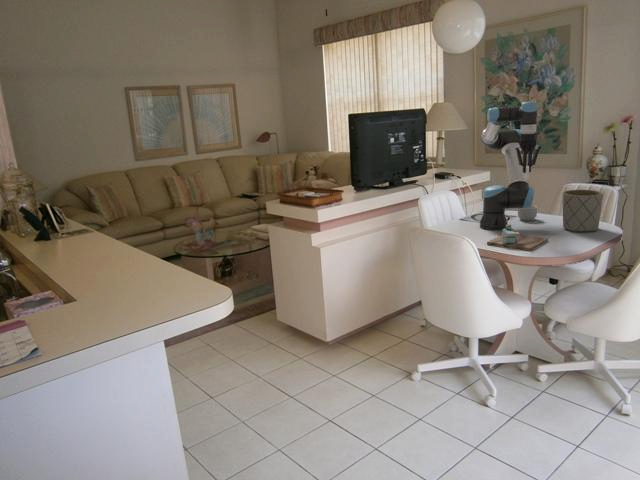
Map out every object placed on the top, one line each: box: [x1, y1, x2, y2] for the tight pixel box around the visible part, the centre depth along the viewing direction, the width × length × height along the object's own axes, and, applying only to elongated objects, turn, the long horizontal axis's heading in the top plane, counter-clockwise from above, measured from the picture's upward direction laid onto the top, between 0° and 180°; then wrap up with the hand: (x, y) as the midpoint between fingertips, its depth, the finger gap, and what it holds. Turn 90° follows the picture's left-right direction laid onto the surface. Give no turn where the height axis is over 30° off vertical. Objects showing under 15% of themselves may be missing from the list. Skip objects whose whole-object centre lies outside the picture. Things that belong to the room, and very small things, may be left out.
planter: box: [562, 189, 604, 233], centre depth 266 cm, size 19×19×20 cm
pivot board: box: [486, 224, 549, 252], centre depth 250 cm, size 22×21×7 cm
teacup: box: [516, 204, 538, 221], centre depth 297 cm, size 14×11×8 cm
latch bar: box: [502, 227, 516, 243], centre depth 254 cm, size 20×6×2 cm, turn 164°
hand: (526, 178), depth 261 cm, fingers closed
